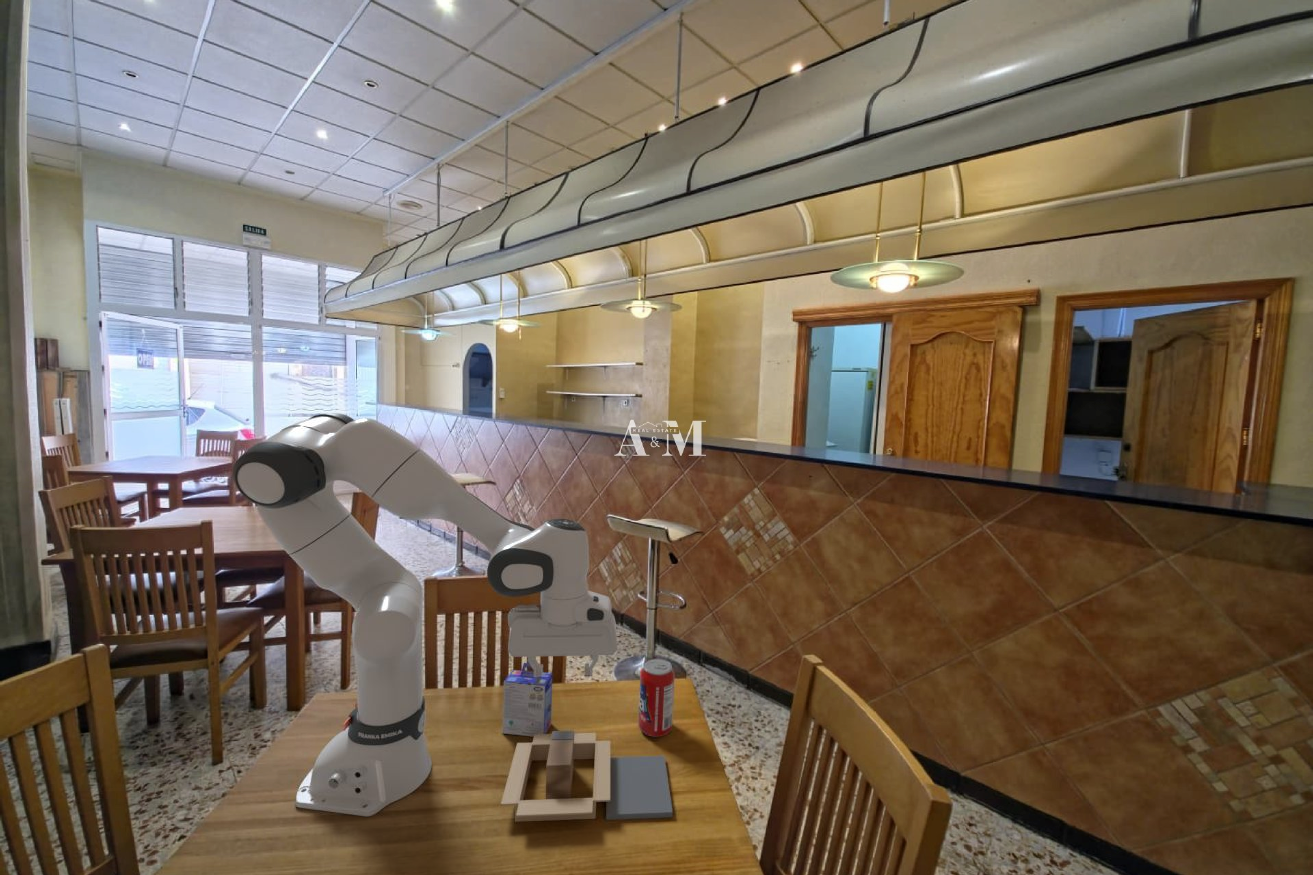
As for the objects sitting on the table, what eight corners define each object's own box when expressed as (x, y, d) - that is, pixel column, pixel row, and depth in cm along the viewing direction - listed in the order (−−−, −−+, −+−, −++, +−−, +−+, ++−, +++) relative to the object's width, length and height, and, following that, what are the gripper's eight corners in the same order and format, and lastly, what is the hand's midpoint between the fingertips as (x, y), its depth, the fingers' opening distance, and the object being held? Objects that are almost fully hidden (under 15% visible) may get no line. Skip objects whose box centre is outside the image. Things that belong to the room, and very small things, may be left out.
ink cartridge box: (552, 722, 113) (554, 662, 112) (544, 739, 108) (546, 676, 107) (511, 718, 114) (512, 658, 113) (501, 734, 109) (502, 671, 107)
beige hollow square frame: (497, 834, 84) (497, 815, 84) (519, 750, 104) (519, 734, 104) (609, 829, 86) (610, 811, 86) (609, 747, 106) (610, 732, 106)
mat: (606, 819, 88) (606, 814, 88) (606, 761, 102) (607, 757, 102) (672, 816, 89) (672, 811, 89) (664, 759, 103) (664, 755, 103)
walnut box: (545, 806, 90) (546, 764, 90) (551, 768, 99) (552, 730, 99) (569, 805, 91) (570, 764, 90) (573, 767, 100) (574, 730, 99)
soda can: (669, 742, 108) (672, 677, 107) (635, 737, 109) (637, 673, 108) (674, 719, 116) (676, 658, 115) (641, 714, 117) (644, 654, 116)
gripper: (504, 613, 88) (503, 686, 89) (618, 612, 90) (616, 683, 91) (511, 598, 94) (511, 667, 95) (618, 597, 96) (616, 664, 97)
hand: (563, 675), depth 93 cm, fingers open, 8 cm apart
